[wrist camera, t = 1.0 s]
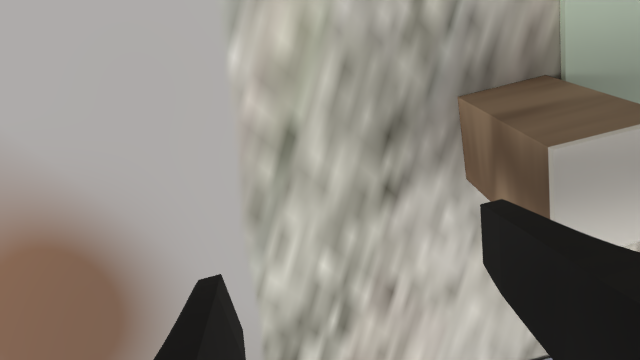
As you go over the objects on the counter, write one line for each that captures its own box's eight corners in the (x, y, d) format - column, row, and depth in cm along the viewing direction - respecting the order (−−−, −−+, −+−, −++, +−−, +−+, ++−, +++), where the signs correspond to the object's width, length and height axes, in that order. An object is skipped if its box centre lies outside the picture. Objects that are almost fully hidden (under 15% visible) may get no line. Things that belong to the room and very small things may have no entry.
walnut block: (548, 158, 25) (673, 232, 17) (466, 178, 25) (556, 262, 17) (545, 75, 23) (684, 117, 16) (457, 96, 23) (553, 149, 15)
